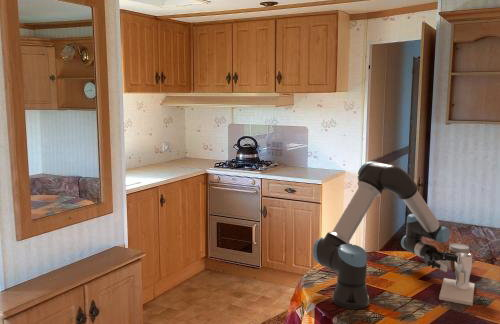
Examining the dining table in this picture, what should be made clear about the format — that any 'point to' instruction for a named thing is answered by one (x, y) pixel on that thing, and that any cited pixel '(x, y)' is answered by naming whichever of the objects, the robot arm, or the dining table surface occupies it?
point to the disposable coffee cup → (457, 251)
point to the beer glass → (463, 270)
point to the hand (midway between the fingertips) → (459, 267)
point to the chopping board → (456, 293)
